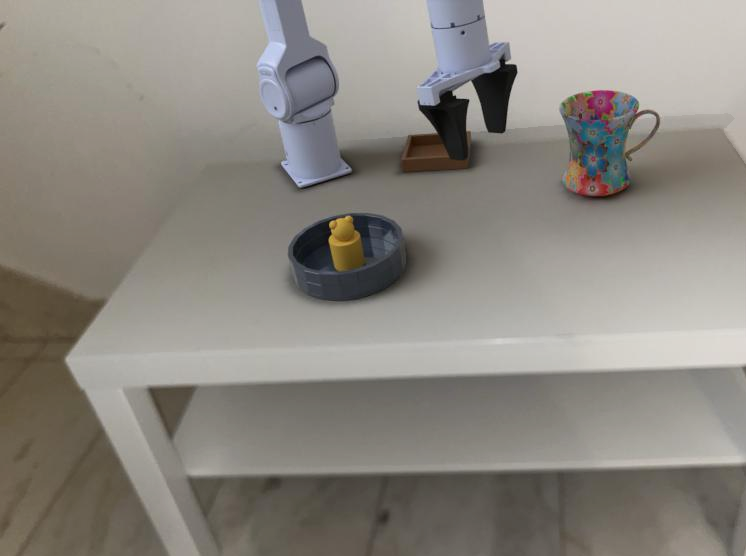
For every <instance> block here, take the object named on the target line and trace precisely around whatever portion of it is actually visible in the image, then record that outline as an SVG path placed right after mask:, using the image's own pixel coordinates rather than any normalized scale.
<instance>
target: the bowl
mask: <svg viewBox="0 0 746 556" xmlns="http://www.w3.org/2000/svg"><path fill="white" fill-rule="evenodd" d="M346 216H351V217H352V218H353V223H352V224H353V226H354V230H356V231H357V232H359V234H360V237H361V243H362V248H363V253H364V258H365V264H364V265H363V267H360V268H357V269H352V270H346V271H338V270H336V269H335V267H334V262H333V258H332V253H331V249H330V244H329V237H330V236H331V235H332V232H331V228H330V226H329V224H330V222H331V221H335V220H337V219H339V218H345V217H346ZM405 245H406V244H405V240H404V234H403V229H402V227H401V226H400V225H399V224H398V223H397V222H396V221H395V220H394V219H391V218H390V217H387V216H385V215H382V214H376V213H371V212H349V213H344V214H343V213H342V214H337V215H332V216H330V217H327V218H324V219H320V220H317V221H315V222H314V223H312V224H310V225H308V226H306V227H304V228H303V229H302V230H300V231H299V232H298V233H297V234H296V235H295V236H294V237H293V238H292V240H291V242H290V243H289V244H288V247H287V258H288V263H289V265H290V266H289V267H290V270H291V274H292V277H293V279H294V282H295V284H296V286H297V287H298V289H299V290H300V291H302V292H303V293H304V294H306V295H308V296H309V297H312V298H314V299H319V300H324V301H333V302H334V301H348V300H350V301H351V300H357V299H360V298H365V297H368V296H371V295H373V294H376V293H379V292H381V291H383V290H385V289H386V288H388V287H390V286H391V285H392V284H394V283H395V282H396V281H397V280H398V279H400V277H401V276H402V274H403V273H404V271H405V270H406V266H407V251H406V246H405Z"/></svg>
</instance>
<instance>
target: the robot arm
mask: <svg viewBox="0 0 746 556" xmlns="http://www.w3.org/2000/svg"><path fill="white" fill-rule="evenodd" d="M257 2H258V6H259V10H260V14H261V17H262V18H261V19H262V21H263V25H264V30H265V33H266V37H267V40H268V44H267V45H266V48H264V51H263V53H262V54H261V56H260V58H258V61H257V63H256V65H255V66H256V70H257V73H258V79H259V82H258V83H259V85H258V93H259V98H260V100H261V103H262V105H263V107H264V109H265V110H266V111H267V112H268V113H269V115H271V116H272V117H273V118H274V119H275V120H277V121H278V128H279V132H280V136H281V141H282V144H283V149H284V153H285V158H286V160H282V161H281V162H280V165H281V167H282V168H283V170H284V171H285V172H286V173H287V175H288V176H289V177H290V178H291V179H292V180H293V182H294V183H295V184H296V186H297V187H298V188H300V189H302V188H306V187H309V186H313V185H315V184H320V183H322V182H326V181H329V180H332V179H335V178H339V177H341V176H345V175H349V174H351V173H352V172H353V169H352V168H351V167H350V165H348V164H347V163H346V161H344V159H343V158H342V157H341V153H340V148H339V143H338V137H337V132H336V126H335V122H334V121H335V120H334V116H333V111H332V107H333V106H335V105H336V104H335V98H334V97H336V96H337V95H338V93H339V89H340V78H339V74H338V71H337V69H336V67H335V66H334V64H333V62H332V60H331V57H330V55H329V50H328V46H327V45H326V44H325V43H324V42H322V41H320V40H318V39H316V38H314V37H312V36H311V35H310V31H309V26H308V23H307V19H306V14H305V10H304V5H303V2H302V0H257ZM425 2H426V8H427V14H428V19H429V24H430V28H431V34H432V40H433V46H434V52H435V56H436V61H437V68H435V70H433V72H432V73H431V74H430V75H429V76H428V77H427V79H426V80H424V81H423V82H422V83H420V84H419V85H418V86H416V91H417V95H418V100H417V107H418V111H420V112H421V114H423V116H424V117H425V118H426V120H428V122H429V123H430V124H431V126H432V127H433V128H434V130H435V131H436V133H438V135H439V137H440V139H441V140H442V142H443V145H444V147H445V149H446V151H447V153H448V155H449V157H450V159H453V160H466V159H467V158H468V142H467V133H466V132H467V119H468V118H467V117H468V109H469V105H470V100H471V99H469V98H459V97H457V95H456V94H454V92H455V91H456V90H458V89H459V88H461V87H463V86H464V85H466V84H468V83H469V82H471V83H472V85H473V88H474V90H475V92H476V95H477V98H478V101H479V103H480V108H481V112H482V116H483V121H484V125H485V129H486V130H487V133H488V134H501V135H502V134H504V133H506V130H507V122H508V121H507V120H508V112H509V103H510V98H511V93H512V90H513V86H514V83H515V80H516V78H517V76H518V65H517V64H515V63H507V62H509V61H511V60H512V54H511V47H510V42H509V41H494V42H492V43H491V44H490V41H489V33H488V28H487V20H486V11H485V7H484V0H425Z"/></svg>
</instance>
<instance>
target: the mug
mask: <svg viewBox="0 0 746 556" xmlns="http://www.w3.org/2000/svg"><path fill="white" fill-rule="evenodd" d="M639 109H640V102H639V100H638V99H637V98H636V97H634V95H631V94H629V93H627V92H623V91H617V90H611V89H609V90H608V89H599V90H587V91H582V92H578V93H576V94H573V95H570V96H568V97H567V98H565V99H564V100H562V102H561V103H560V104H559V107H558V110H559V113H560V116H561V117H562V120H563V122H564V125H565V128H566V131H567V136H568V140H569V159H568V164H567V167H566V170H565V172H564V174H563V176H562V183H563V185H564V186H565V188H566V189H567V190H568V191H571V192H573V193H575V194H578V195H582V196H587V197H603V196H610V195H613V194H617V193H619V192H621V191H623V190H625V189H626V188H627V187H628V186H629V185H630V183H631V182H632V175H631V172H630V170H629V167H628V163H627V161H629V162H632V161H633V158H632V157H631V155H633V154H634V153H635V152H637V151H639V150H641V149H642V148H643V147H645V146H646V145H647V144H648V143H649V142H650V141H651V140H652V139H653V138H654V136H655V135H656V133H657V132H658V130H659V127H660V125H661V117H660V114H659V113H658V112H656V111H655V110H653V109H642V110H640V111H639ZM643 115H653V116H654V117H655V119H656V120H655V125H654V127H653V128H652V130H651V131H650V133H649V134H648V135H647V136H646V138H644V139H643V140H642V141H641V142H640V143H638V144H637V145H634V147H632V148H630V149H629V150H627V151H626V148H627V146H626V145H627V141H628V135H629V131H630V130H631V129H632V128H633V125H634V123H635V121H637V120H638V118H640V117H642V116H643Z"/></svg>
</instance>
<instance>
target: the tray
mask: <svg viewBox="0 0 746 556" xmlns="http://www.w3.org/2000/svg"><path fill="white" fill-rule="evenodd" d="M466 133H467V142H468V158H467V159H466V160H453V159H450V157H449V155H448V153H447V151H446V149H445V147H444V145H443V142H442V140H441V139H440V137H439V135H438V133H437V132H432V133H416V134H408V135H407V138H406V141H405V145H404V149H403V152H402V154H401V155H402V156H401V159H400V163H401V169H402V173H413V172H428V171H430V172H431V171H445V170H446V171H449V170H463V169H469V165H470V157H471V150H472V131H471V130H466Z"/></svg>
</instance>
